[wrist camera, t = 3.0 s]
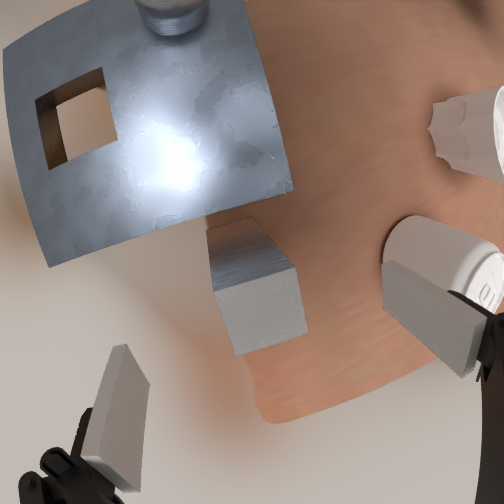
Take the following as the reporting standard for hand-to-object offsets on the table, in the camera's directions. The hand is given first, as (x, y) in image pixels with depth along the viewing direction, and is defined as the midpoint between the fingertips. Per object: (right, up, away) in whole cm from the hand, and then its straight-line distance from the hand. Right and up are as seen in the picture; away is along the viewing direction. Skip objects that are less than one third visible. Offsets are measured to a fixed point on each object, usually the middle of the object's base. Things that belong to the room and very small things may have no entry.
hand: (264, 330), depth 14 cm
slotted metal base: (-10, +16, +7) cm, 20 cm away
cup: (+22, +17, +13) cm, 31 cm away
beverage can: (+17, +4, +16) cm, 23 cm away
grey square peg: (-2, +4, +12) cm, 13 cm away
